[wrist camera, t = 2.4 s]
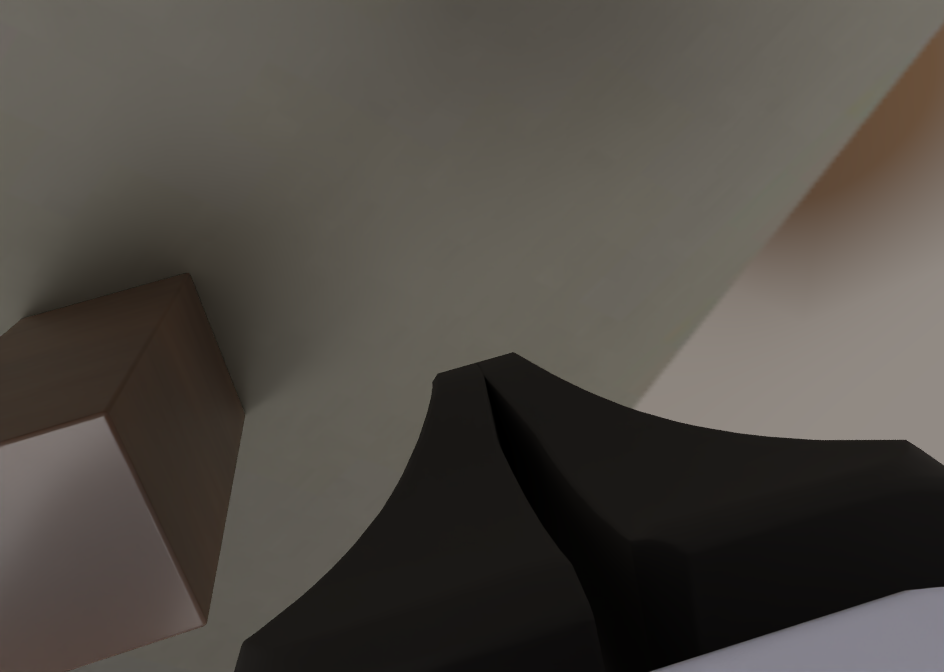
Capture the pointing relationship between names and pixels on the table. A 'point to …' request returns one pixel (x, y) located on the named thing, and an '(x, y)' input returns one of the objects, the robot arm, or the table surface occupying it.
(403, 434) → the table surface
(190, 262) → the table surface
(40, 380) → the brown wooden block
